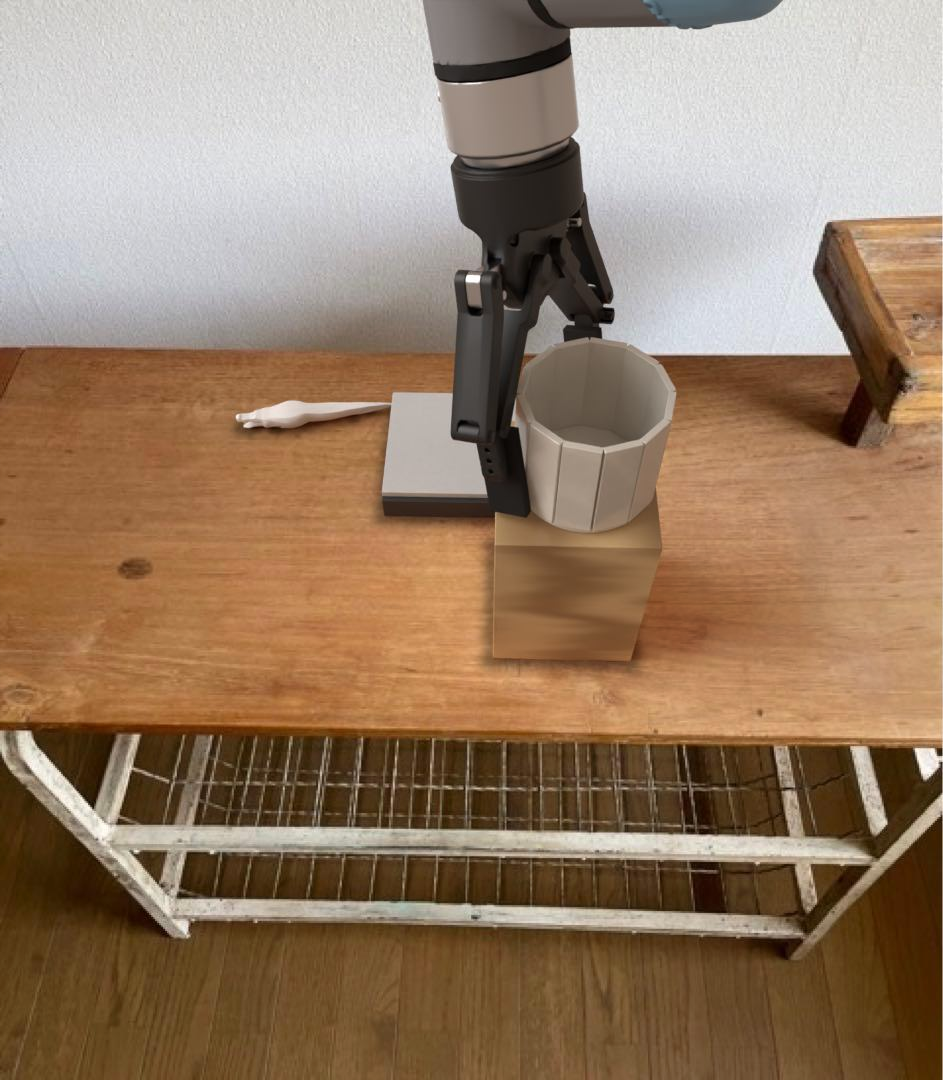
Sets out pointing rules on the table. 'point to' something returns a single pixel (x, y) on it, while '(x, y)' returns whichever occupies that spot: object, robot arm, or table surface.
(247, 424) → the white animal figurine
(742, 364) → the table surface
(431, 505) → the scale
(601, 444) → the pot
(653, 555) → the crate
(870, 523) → the table surface
